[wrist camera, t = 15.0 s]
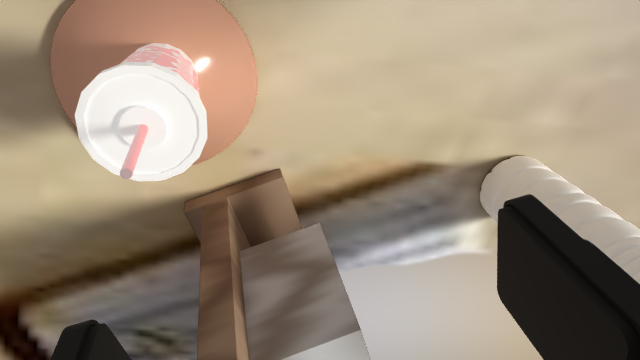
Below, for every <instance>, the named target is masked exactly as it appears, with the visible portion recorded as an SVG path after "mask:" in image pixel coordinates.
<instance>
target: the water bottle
mask: <svg viewBox="0 0 640 360" xmlns="http://www.w3.org/2000/svg"><path fill="white" fill-rule="evenodd" d="M528 194H531V195H533V196H535V197H536V198H537V199H538V200H539V201H541V202H542V203H543V204H544V205H545V206H546V207H547V208H548V209H550V210H551V211H552V212H553V213H554V214H555V215H556V216H558V217H559V218H560V219H561V220H562V221H563V222H564V223H566V224H567V225H568V226H569V227H570V228H571V229H572V230H573V231H575V232H576V233H577V234H578V235H579V236H580V237H581V238H583V239H585V240H588V241H590V242H591V243H593V244H594V245H595V246H596V247H598V248H599V249H600V250H601V251H602V252H603V253H605V254H606V255H607V256H608V257H609V258H610V259H611V260H613V261H614V262H615V263H616V264H617V265H618V266H620V267H621V268H622V269H623V270H624V271H625V272H626V273H628V274H629V275H630V276H631V277H632V278H633V279H634V280H636V281H637V282H638V283H639V284H640V229H638V228H637V227H636V226H634V225H633V224H631V223H629V222H627V221H624V220H623V219H622V218H621V217H620V216H619V215H617V214H616V213H615V212H613V211H612V210H610V209H609V208H607V207H605V206H602V205H601V204H600V203H599V202H598V201H597V200H595V199H594V198H592V197H591V196H589V195H587V194H584V193H583V192H582V191H581V190H580V189H579V188H578V187H576V186H575V185H573V184H571V183H568V182H567V181H566V180H565V179H564V178H563V177H561V176H560V175H558V174H557V173H555V172H552V171H551V170H550V169H549V168H548V167H547V166H545V165H543V164H542V163H540V162H539V161H537V160H536V159H534V158H531V157H528V156H514V157H511V158H510V159H506V160H504V161H502V162H500V163H499V164H497V165H496V166H495V167H494V168H493V169H492V171H491V173H489V174H487V176H486V177H485V179H484V181H483V183H482V186H481V191H480V202H481V204H482V206H483V208H484V209H485V211H486V212H487V213H488V214H489V215H490V216H491V217H492V218H493V219H494V220H495V221H496V222H498V211H499V209H501V208H503V206H504V203H505V201H507V200H510V199H514V198H517V197H521V196H524V195H528Z"/></svg>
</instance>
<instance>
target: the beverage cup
mask: <svg viewBox="0 0 640 360" xmlns="http://www.w3.org/2000/svg"><path fill="white" fill-rule="evenodd" d="M75 120H76V125H77V130H78V136H79V139H80V141H81V142H82V144H83V145H84V147H85V148H86V150H87V151H88V153H89V154H90V155H91V157H92V158H93V160H95V161H96V162H98V163H99V164H100V165H102V166H103V167H105V168H106V169H108V170H109V171H110V172H112V173H113V174H116V175H119V176H121V177H122V178H124V179H132V180H135V181H162V180H165V179H167V178H170V177H173V176H175V175H178V174H180V173H183V172H184V171H185V170H186V169H188V168H189V167H190V166H191V165H192V164H193V163H194V162H195V161H196V160H197V159H198V158H199V157H200V155H201V152H202V150H203V147H204V145H205V143H206V140H207V114H206V109H205V107H204V105H203V103H202V101H201V99H200V93H199V84H198V75H197V71H196V69H195V67H194V65H193V62H192V60H191V59H190V58H189V57H188V56H187V55H186V54H185V53H184V52H183V51H181V50H180V49H178V48H176V47H173V46H171V45H169V44H160V43H151V44H149V45H146V46H143V47H141V48H139V49H137V50H136V51H135V52H134V53H132V54H131V55H130V56H129V57H128V58H126V59H125V60H124V61H123V62H122V63H120V64H119V65H116V66H114V67H111V68H109V69H106V70H103V71H102V72H101V73H99V74H98V75H97V76H96V77H95V78H94V79H93V80H92V82H91V83H90V84H89V85H88V86H87V87H86V88H85V89H84V90H83V91H82V92H81V95H80V98H79V102H78V105H77V109H76V112H75Z"/></svg>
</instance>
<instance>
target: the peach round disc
mask: <svg viewBox="0 0 640 360" xmlns="http://www.w3.org/2000/svg"><path fill="white" fill-rule="evenodd" d="M151 43H160V44H169V45H171V46H173V47H176V48H178V49H180V50H181V51H183V52H184V53H185V54H186V55H187V56H188V57H189V58H190V59H191V60H192V62H193V65H194V67H195V69H196V71H197V75H198V84H199V93H200V99H201V101H202V103H203V105H204V107H205V109H206V114H207V140H206V143H205V145H204V147H203V150H202V152H201V155H200V157H199V158H198V159H197V160H196V161H195V162H194V163H193V164H192V165H194V164H197V163H200V162H203V161H205V160H208V159H210V158H212V157H213V156H215V155H217V154H219V153H220V152H221V151H223V150H224V149H226V148H227V147H228V146H229V145H230V144H231V143H232V142H234V141H235V139H236V138H237V137H238V136H239V135H240V133H241V132H242V131H243V129H244V128H245V126H246V124H247V123H248V120H249V118H250V116H251V114H252V111H253V108H254V105H255V101H256V95H257V70H256V64H255V60H254V56H253V53H252V50H251V47H250V45H249V42H248V40H247V38H246V36H245V34H244V32H243V30H242V28H241V27H240V26H239V24H238V23H237V21H236V20H235V18H234V17H233V16H232V15H231V14H230V13H229V12H228V11H227V9H226V8H225V7H224V6H223V5H221V4H220V3H219V2H218V1H217V0H76V1H75V2H74V3H73V4H72V5H71V6H70V7H69V8H68V10H67V11H66V12H65V14H64V15H63V17H62V18H61V20H60V22H59V24H58V27H57V29H56V31H55V34H54V38H53V41H52V46H51V55H50V66H51V75H52V81H53V85H54V88H55V91H56V94H57V97H58V99H59V101H60V103H61V106H62V108H63V110H64V111H65V113H66V114H67V116H68V117H69V119H70V120H71V122H72V123H73V124H74V125H75V126H76V128H77V125H76V120H75V112H76V109H77V105H78V102H79V98H80V95H81V92H82V91H83V90H84V89H85V88H86V87H87V86H88V85H89V84H90V83H91V82H92V80H93V79H94V78H95V77H96V76H97V75H98V74H99V73H101V72H102V71H103V70H106V69H109V68H111V67H114V66H116V65H119V64H120V63H122V62H123V61H124V60H125V59H126V58H128V57H129V56H130V55H131V54H132V53H134V52H135V51H136V50H137V49H139V48H141V47H143V46H146V45H149V44H151Z"/></svg>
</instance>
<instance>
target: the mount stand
mask: <svg viewBox="0 0 640 360" xmlns="http://www.w3.org/2000/svg"><path fill="white" fill-rule="evenodd" d="M184 213H185V215H186V217H187V219H188V221H189V223H190V224H191V226H192V228H193V230H194V232H195V234H196V235H197V237H198V239H199V241H200V243H201V262H200V290H199V318H198V345H197V360H371V359H370V356H369V353H368V350H367V347H366V344H365V341H364V338H363V335H362V332H361V329H360V326H359V324H358V321H357V319H356V316H355V313H354V311H353V308H352V305H351V303H350V300H349V298H348V295H347V292H346V290H345V287H344V285H343V282H342V279H341V277H340V274H339V271H338V269H337V266H336V264H335V261H334V258H333V256H332V253H331V251H330V248H329V245H328V243H327V240H326V237H325V235H324V232H323V230H322V227H321V224H320V223H317V224H314V225H312V226H309V227H306V228H303V229H302V226H301V224H300V221H299V218H298V216H297V213H296V210H295V208H294V205H293V202H292V200H291V197H290V194H289V192H288V189H287V186H286V184H285V181H284V178H283V175H282V173H281V170H280V169H277V170H275V171H272V172H269V173H266V174H263V175H260V176H258V177H255V178H252V179H249V180H246V181H243V182H241V183H238V184H235V185H232V186H229V187H226V188H223V189H221V190H218V191H215V192H212V193H209V194H206V195H204V196H201V197H198V198H195V199H192V200H189V201H187V202H185V206H184Z"/></svg>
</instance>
